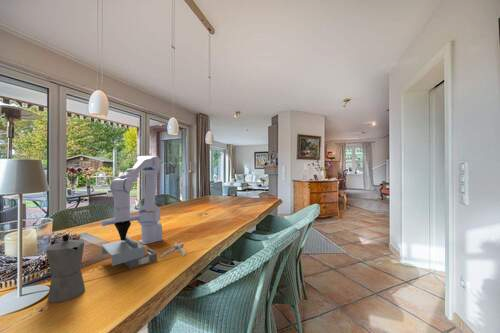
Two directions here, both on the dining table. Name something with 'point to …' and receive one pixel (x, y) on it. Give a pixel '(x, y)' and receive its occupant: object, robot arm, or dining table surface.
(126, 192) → the robot arm
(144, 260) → the housing
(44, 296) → the dining table surface
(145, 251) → the jaw seated
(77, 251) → the coffeepot
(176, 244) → the hammer
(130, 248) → the lid
